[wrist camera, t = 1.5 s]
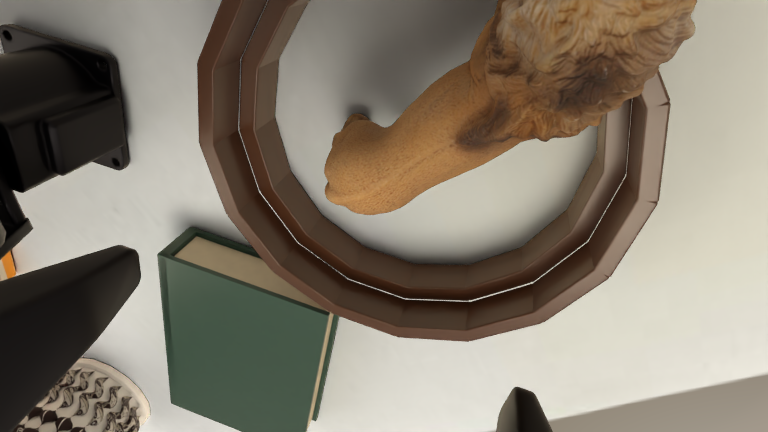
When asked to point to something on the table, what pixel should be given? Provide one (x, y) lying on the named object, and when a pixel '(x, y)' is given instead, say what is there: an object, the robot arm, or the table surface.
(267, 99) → the ring
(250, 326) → the book
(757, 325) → the table surface
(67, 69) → the robot arm
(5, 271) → the supplement box
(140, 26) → the table surface
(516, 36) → the lion figurine
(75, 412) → the decorative candle
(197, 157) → the table surface
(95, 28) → the table surface
